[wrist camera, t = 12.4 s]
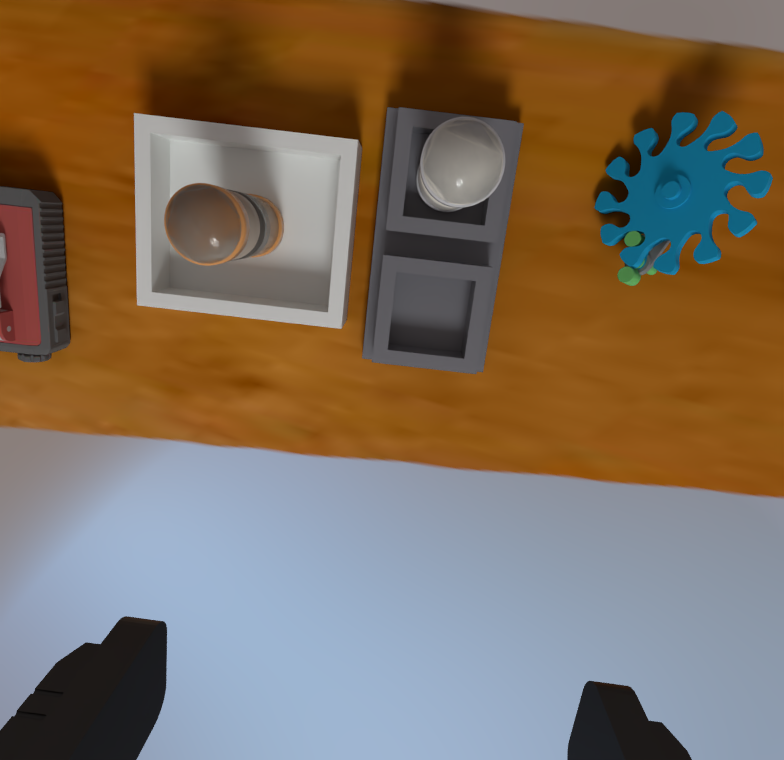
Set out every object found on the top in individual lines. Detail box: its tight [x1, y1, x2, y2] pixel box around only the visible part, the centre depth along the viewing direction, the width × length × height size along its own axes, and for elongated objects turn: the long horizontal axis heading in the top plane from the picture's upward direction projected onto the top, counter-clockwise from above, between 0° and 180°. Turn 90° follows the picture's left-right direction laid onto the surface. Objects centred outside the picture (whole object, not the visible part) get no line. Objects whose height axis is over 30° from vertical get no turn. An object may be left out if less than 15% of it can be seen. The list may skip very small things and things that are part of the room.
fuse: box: [416, 117, 505, 212], centre depth 32 cm, size 4×4×10 cm
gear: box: [595, 111, 773, 286], centre depth 36 cm, size 11×6×10 cm
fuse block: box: [362, 107, 524, 374], centre depth 37 cm, size 17×9×3 cm, turn 174°
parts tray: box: [134, 113, 362, 329], centre depth 37 cm, size 14×12×4 cm
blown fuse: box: [164, 183, 284, 266], centre depth 33 cm, size 4×4×10 cm
